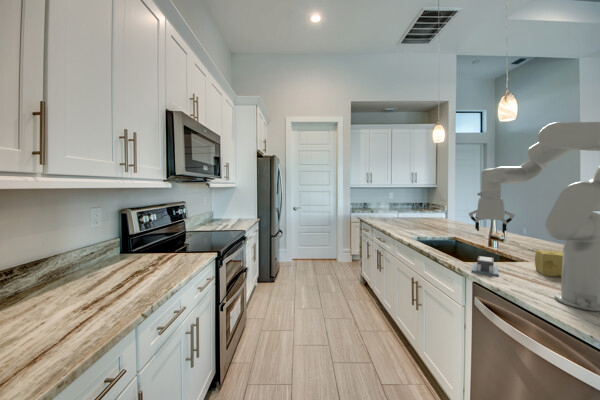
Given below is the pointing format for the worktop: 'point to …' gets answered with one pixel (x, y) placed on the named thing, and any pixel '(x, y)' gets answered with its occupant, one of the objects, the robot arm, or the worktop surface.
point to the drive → (485, 262)
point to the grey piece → (492, 271)
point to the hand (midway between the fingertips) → (490, 231)
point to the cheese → (549, 262)
